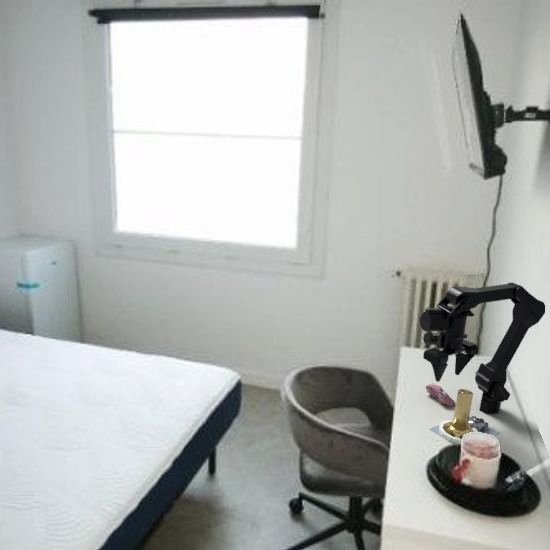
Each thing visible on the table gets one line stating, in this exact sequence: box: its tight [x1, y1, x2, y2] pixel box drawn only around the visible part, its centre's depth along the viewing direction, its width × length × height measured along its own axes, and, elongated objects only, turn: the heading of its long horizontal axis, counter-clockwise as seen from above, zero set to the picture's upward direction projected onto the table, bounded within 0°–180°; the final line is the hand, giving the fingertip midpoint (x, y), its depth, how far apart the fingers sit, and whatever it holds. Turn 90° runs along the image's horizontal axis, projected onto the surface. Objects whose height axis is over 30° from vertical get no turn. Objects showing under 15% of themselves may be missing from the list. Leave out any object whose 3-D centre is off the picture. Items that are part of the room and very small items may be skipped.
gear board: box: [429, 418, 501, 446], centre depth 148 cm, size 17×12×2 cm
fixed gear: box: [468, 415, 489, 432], centre depth 150 cm, size 7×7×2 cm
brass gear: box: [445, 388, 474, 439], centre depth 144 cm, size 7×7×13 cm
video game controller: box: [425, 382, 456, 407], centre depth 165 cm, size 10×5×7 cm, turn 22°
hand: (447, 377), depth 154 cm, fingers open, 9 cm apart
